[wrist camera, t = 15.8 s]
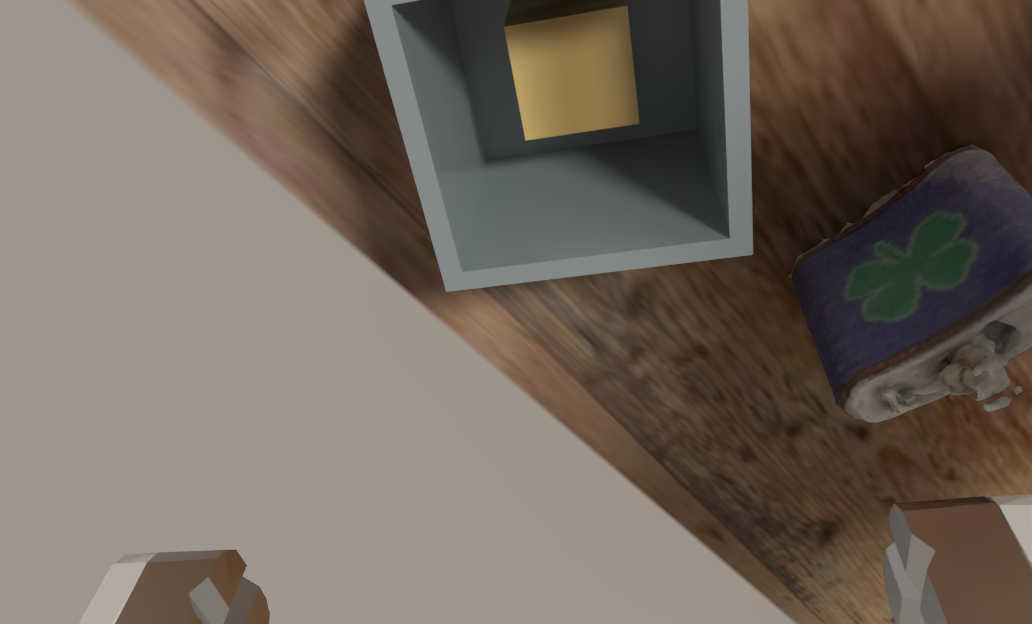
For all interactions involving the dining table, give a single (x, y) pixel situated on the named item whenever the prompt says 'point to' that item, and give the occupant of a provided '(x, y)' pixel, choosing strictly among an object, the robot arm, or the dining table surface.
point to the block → (571, 65)
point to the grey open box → (572, 145)
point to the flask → (924, 290)
